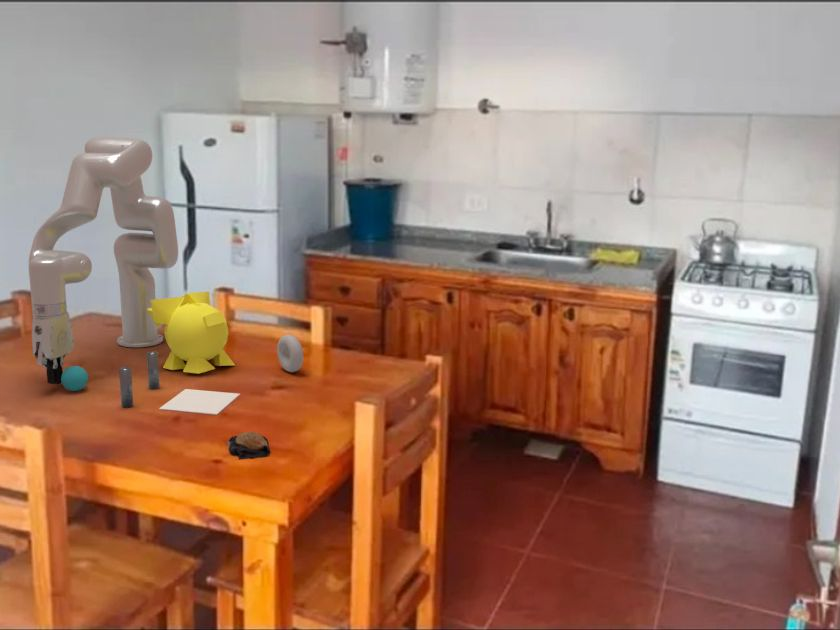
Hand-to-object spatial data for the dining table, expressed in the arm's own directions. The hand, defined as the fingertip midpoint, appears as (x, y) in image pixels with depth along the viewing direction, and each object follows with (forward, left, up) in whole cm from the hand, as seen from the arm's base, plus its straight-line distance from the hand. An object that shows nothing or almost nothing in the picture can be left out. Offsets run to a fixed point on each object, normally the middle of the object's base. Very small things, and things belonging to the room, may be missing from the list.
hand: (55, 382), depth 208 cm
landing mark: (0, +37, -2) cm, 37 cm away
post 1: (+7, +22, -2) cm, 23 cm away
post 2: (-7, +22, -2) cm, 23 cm away
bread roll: (+23, +58, -2) cm, 62 cm away
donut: (-27, +50, -2) cm, 57 cm away
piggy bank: (-25, +24, -2) cm, 35 cm away
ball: (0, +5, +2) cm, 5 cm away
